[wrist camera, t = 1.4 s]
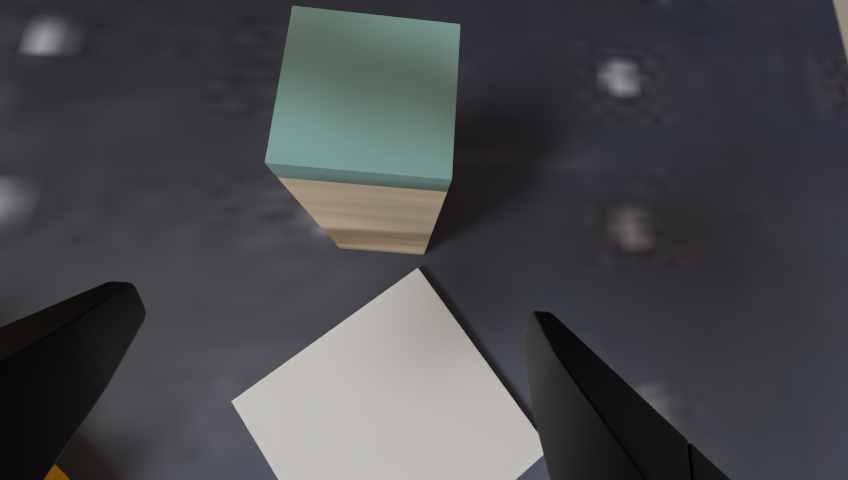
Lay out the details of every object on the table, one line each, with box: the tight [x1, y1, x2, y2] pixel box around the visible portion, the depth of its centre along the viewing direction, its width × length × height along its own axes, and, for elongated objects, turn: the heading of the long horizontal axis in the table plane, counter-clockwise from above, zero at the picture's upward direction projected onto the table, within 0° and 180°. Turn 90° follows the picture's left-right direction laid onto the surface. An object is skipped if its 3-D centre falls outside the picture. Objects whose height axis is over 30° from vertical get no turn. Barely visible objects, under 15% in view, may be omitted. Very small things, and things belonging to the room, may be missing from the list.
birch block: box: [265, 6, 460, 255], centre depth 16 cm, size 5×5×12 cm
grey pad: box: [231, 268, 544, 480], centre depth 19 cm, size 12×12×1 cm
